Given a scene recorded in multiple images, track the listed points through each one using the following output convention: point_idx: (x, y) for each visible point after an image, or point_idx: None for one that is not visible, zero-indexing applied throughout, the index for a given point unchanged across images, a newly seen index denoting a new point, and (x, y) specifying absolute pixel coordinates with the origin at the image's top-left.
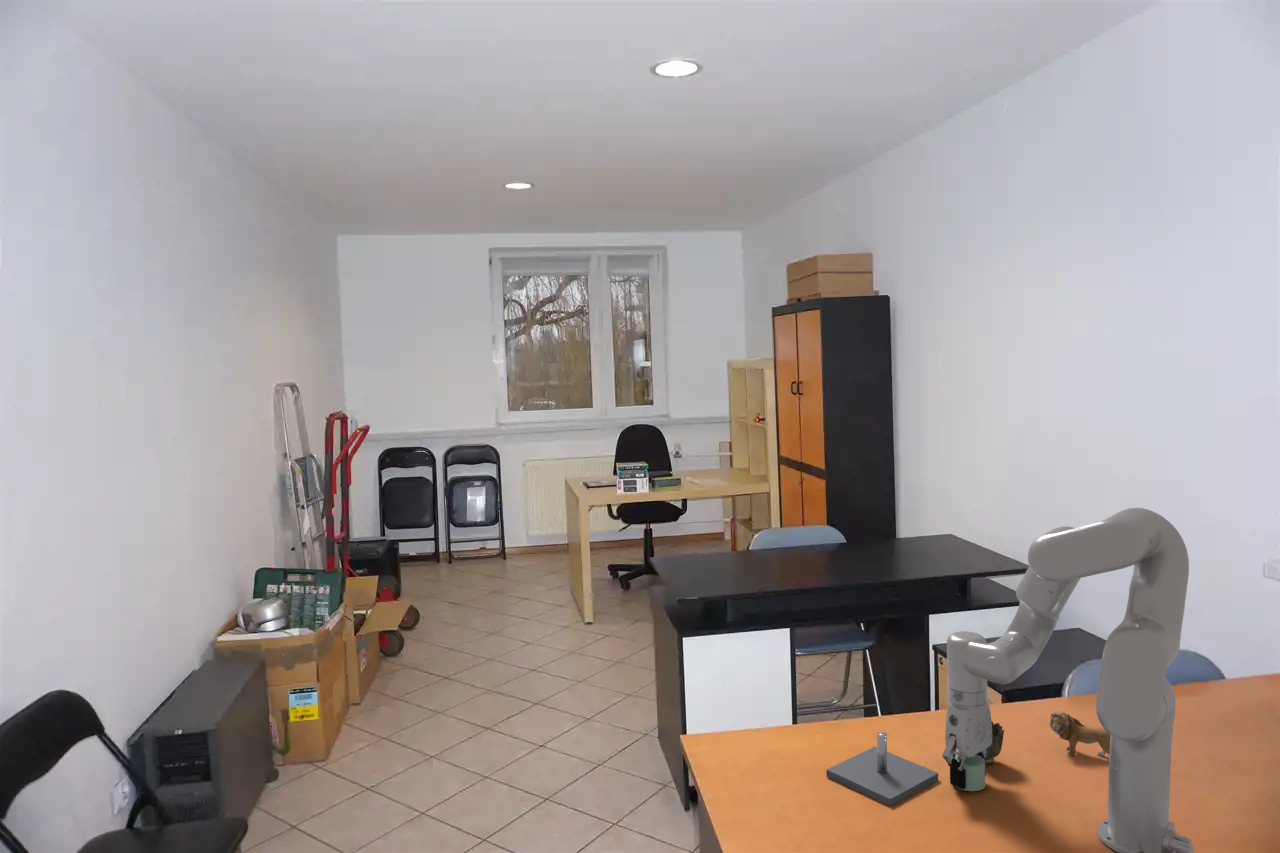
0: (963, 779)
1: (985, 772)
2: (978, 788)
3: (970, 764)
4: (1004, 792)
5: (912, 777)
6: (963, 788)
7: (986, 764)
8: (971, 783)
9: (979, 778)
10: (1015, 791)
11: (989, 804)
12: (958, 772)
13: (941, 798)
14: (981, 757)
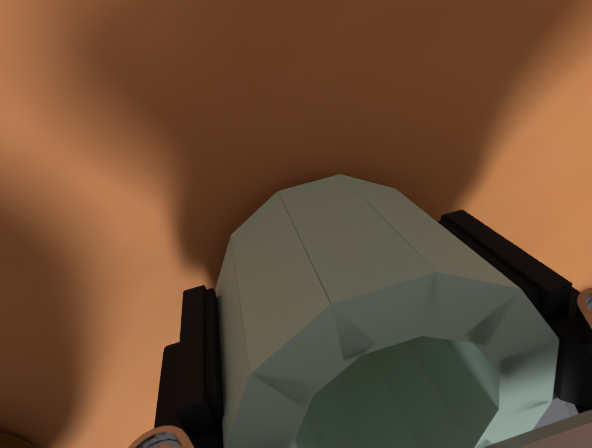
0: (505, 245)
1: (184, 309)
2: (358, 181)
3: (475, 337)
4: (145, 105)
5: (561, 402)
6: (460, 214)
7: (8, 436)
8: (425, 213)
9: (379, 210)
10: (38, 74)
11: (388, 20)
12: (577, 293)
13: (549, 223)
14: (244, 422)
